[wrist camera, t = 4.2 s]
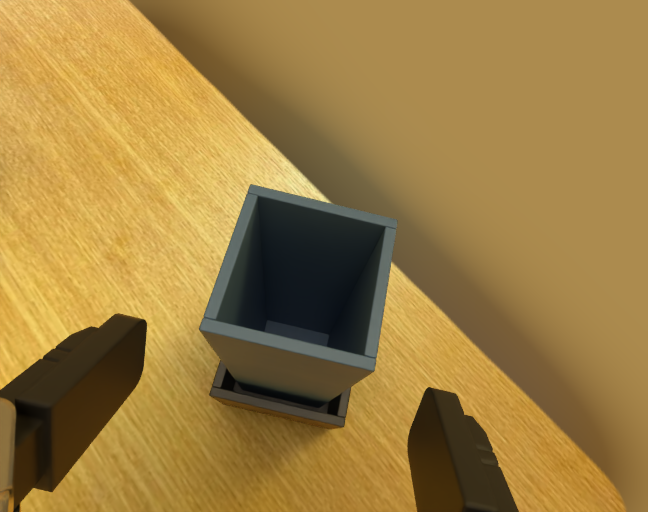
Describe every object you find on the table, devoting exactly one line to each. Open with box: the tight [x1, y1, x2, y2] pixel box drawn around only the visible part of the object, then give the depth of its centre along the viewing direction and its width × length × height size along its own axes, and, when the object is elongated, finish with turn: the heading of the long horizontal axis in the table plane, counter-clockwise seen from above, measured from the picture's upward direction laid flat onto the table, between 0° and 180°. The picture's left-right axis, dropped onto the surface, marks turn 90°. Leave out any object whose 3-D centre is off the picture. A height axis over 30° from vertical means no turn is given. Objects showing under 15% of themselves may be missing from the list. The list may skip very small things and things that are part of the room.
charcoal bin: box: [209, 360, 351, 429], centre depth 26 cm, size 8×8×6 cm
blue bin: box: [199, 184, 397, 408], centre depth 21 cm, size 5×5×17 cm
